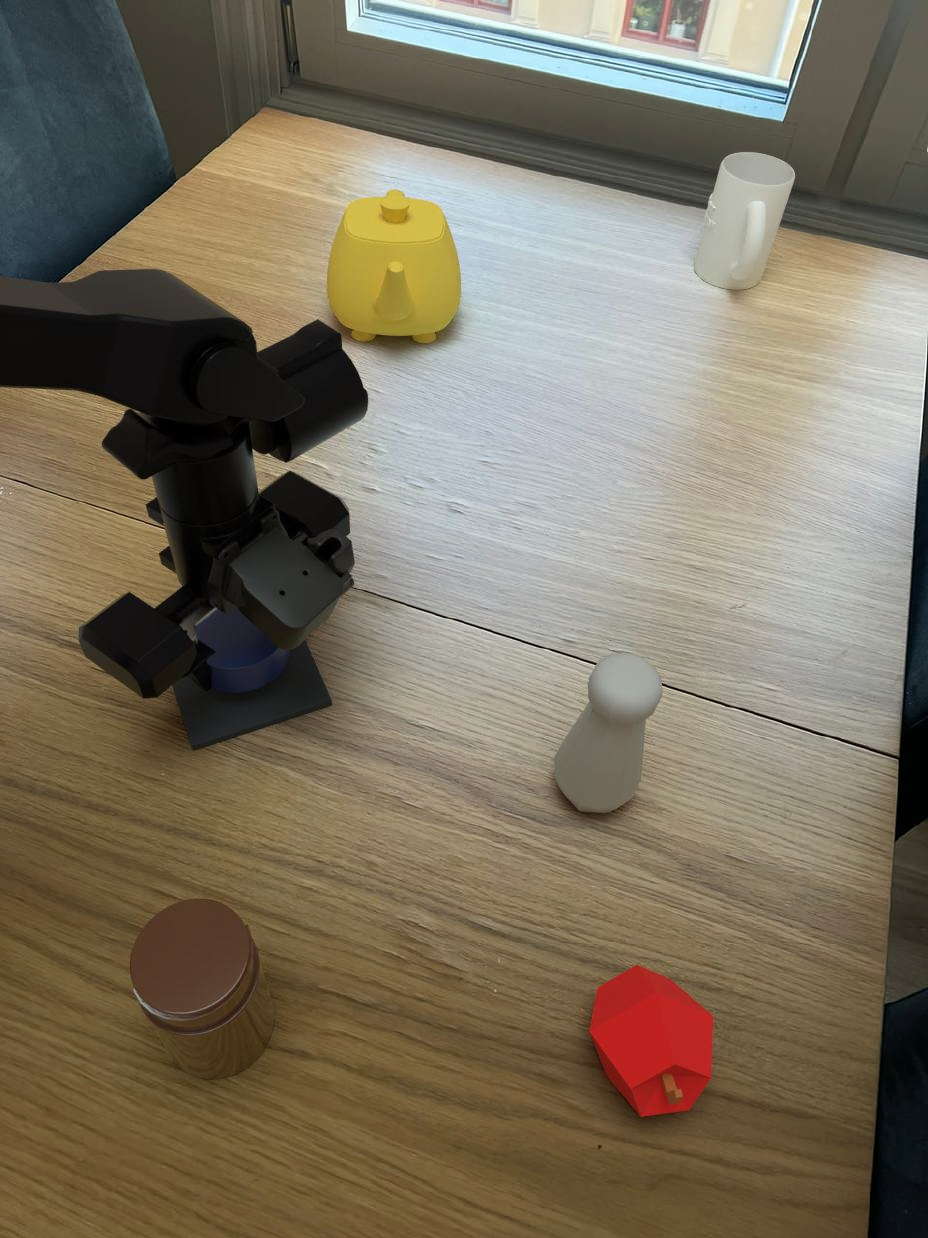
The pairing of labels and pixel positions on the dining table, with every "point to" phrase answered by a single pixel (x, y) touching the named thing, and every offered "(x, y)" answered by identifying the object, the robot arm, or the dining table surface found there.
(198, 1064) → the jam jar
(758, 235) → the mug
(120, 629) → the robot arm
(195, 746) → the mat
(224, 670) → the jar lid
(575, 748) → the salt shaker
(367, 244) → the teapot
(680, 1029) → the apple
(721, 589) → the dining table surface
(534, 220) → the dining table surface
